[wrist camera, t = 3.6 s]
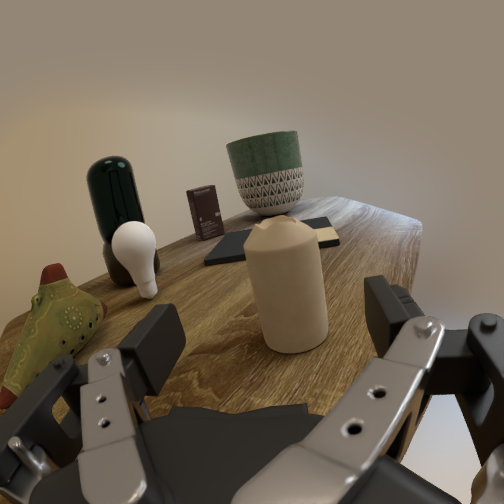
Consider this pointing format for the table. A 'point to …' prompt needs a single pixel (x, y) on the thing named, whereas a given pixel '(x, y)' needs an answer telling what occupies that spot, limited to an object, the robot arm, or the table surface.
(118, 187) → the lamp
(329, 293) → the table surface
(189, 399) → the table surface
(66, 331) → the ocarina
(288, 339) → the candle
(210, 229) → the box
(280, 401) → the table surface
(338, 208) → the table surface
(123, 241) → the lightbulb
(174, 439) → the robot arm
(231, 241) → the mat
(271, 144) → the planter
